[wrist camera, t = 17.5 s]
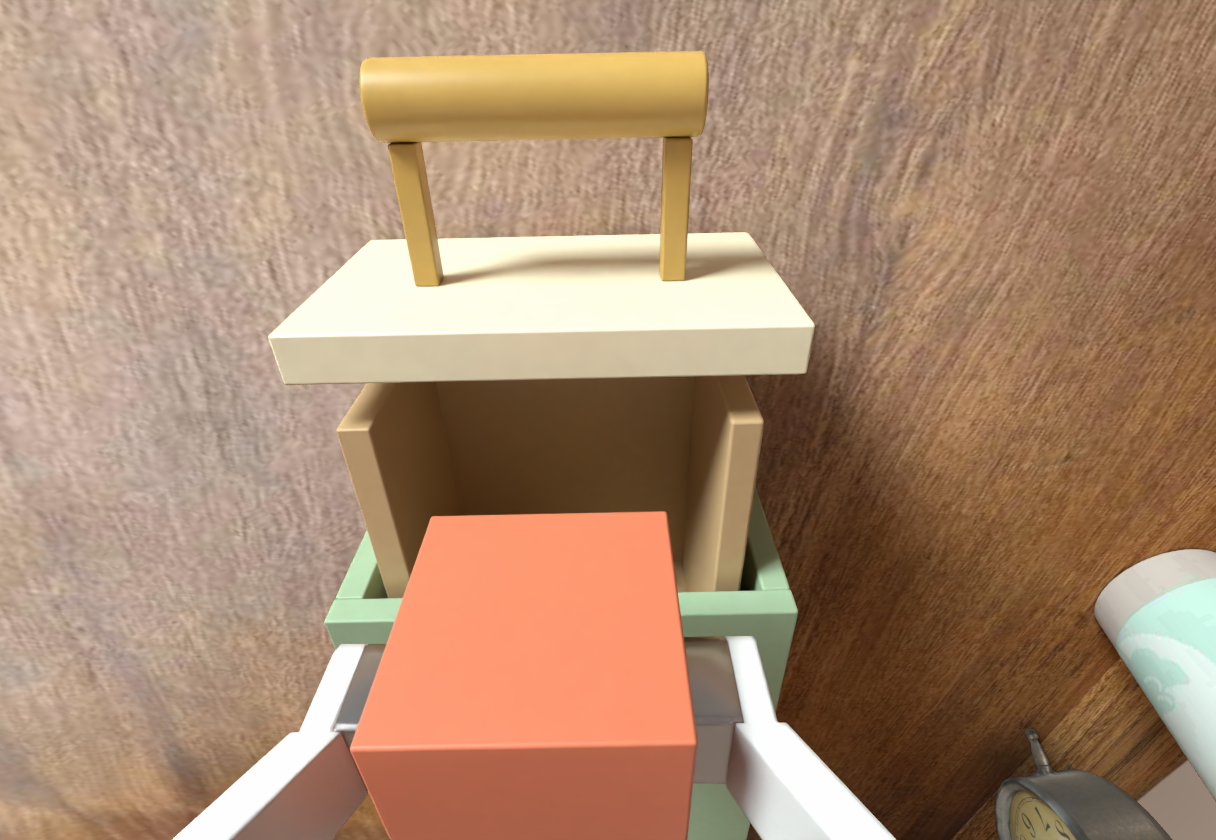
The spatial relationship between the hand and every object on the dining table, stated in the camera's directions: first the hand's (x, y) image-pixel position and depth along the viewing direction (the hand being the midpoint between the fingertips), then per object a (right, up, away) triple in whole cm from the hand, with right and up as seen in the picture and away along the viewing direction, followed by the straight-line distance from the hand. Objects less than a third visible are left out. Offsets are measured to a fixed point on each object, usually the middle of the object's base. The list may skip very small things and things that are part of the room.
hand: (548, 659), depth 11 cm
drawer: (0, +6, +10) cm, 11 cm away
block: (0, +1, +1) cm, 2 cm away
